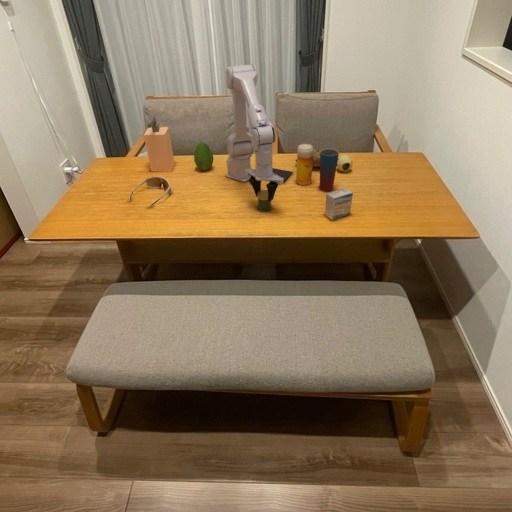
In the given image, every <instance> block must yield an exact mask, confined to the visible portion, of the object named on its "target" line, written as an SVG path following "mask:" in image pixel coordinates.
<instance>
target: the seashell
mask: <svg viewBox="0 0 512 512" xmlns="http://www.w3.org/2000/svg"><path fill="white" fill-rule="evenodd" d="M321 150H322V149H320V148H317V149H314V150H313V165H312V167H313V168H317V167H318V168H320V151H321ZM295 162H296V163H295V164H296V165H297V158H296V159H295Z"/></svg>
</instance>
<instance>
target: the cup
mask: <svg viewBox="0 0 512 512" xmlns="http://www.w3.org/2000/svg"><path fill="white" fill-rule="evenodd" d="M320 150H321V151H320V167H319V191H322V192H326V193H330V192H333V189H334V184H335V178H336V172H337V161H338V158H339V157H340V155H339V154H340V151H339V150H338V149H335V148H331V147H327V148H322V149H320Z"/></svg>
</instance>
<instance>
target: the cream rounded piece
mask: <svg viewBox="0 0 512 512" xmlns="http://www.w3.org/2000/svg"><path fill="white" fill-rule="evenodd" d="M353 163H354V162H353V159H352V158H351V156H349V155H347V154H343V155H339V156H338V161H337V167H336V169H338V170H339V171H340V172H348V171H349V170H351V168H352V167H353Z"/></svg>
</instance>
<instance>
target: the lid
mask: <svg viewBox="0 0 512 512" xmlns="http://www.w3.org/2000/svg"><path fill="white" fill-rule="evenodd" d="M256 198H257V200H258V199H260V200H268V190H267V189H261V191H259V192H258V193H257V197H256Z"/></svg>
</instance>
